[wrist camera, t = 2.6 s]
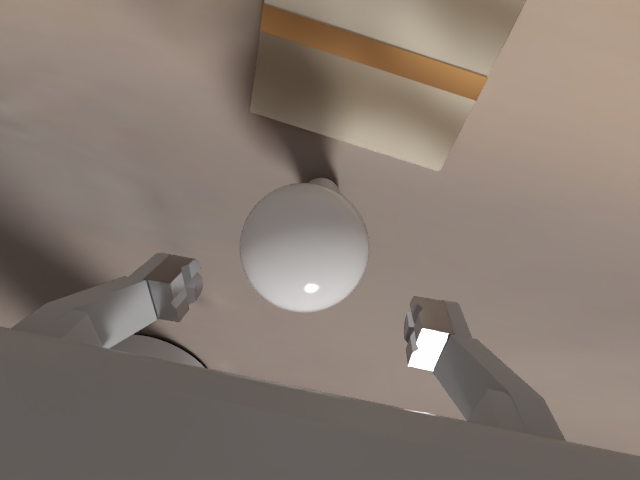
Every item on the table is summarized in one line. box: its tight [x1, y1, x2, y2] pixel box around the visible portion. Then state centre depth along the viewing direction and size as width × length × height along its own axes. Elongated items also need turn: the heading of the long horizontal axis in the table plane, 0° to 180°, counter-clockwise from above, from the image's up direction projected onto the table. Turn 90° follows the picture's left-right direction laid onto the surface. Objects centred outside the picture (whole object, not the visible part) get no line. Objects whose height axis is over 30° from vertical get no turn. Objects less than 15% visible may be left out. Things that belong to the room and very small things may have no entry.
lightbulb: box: [240, 178, 369, 312], centre depth 16 cm, size 6×6×11 cm
